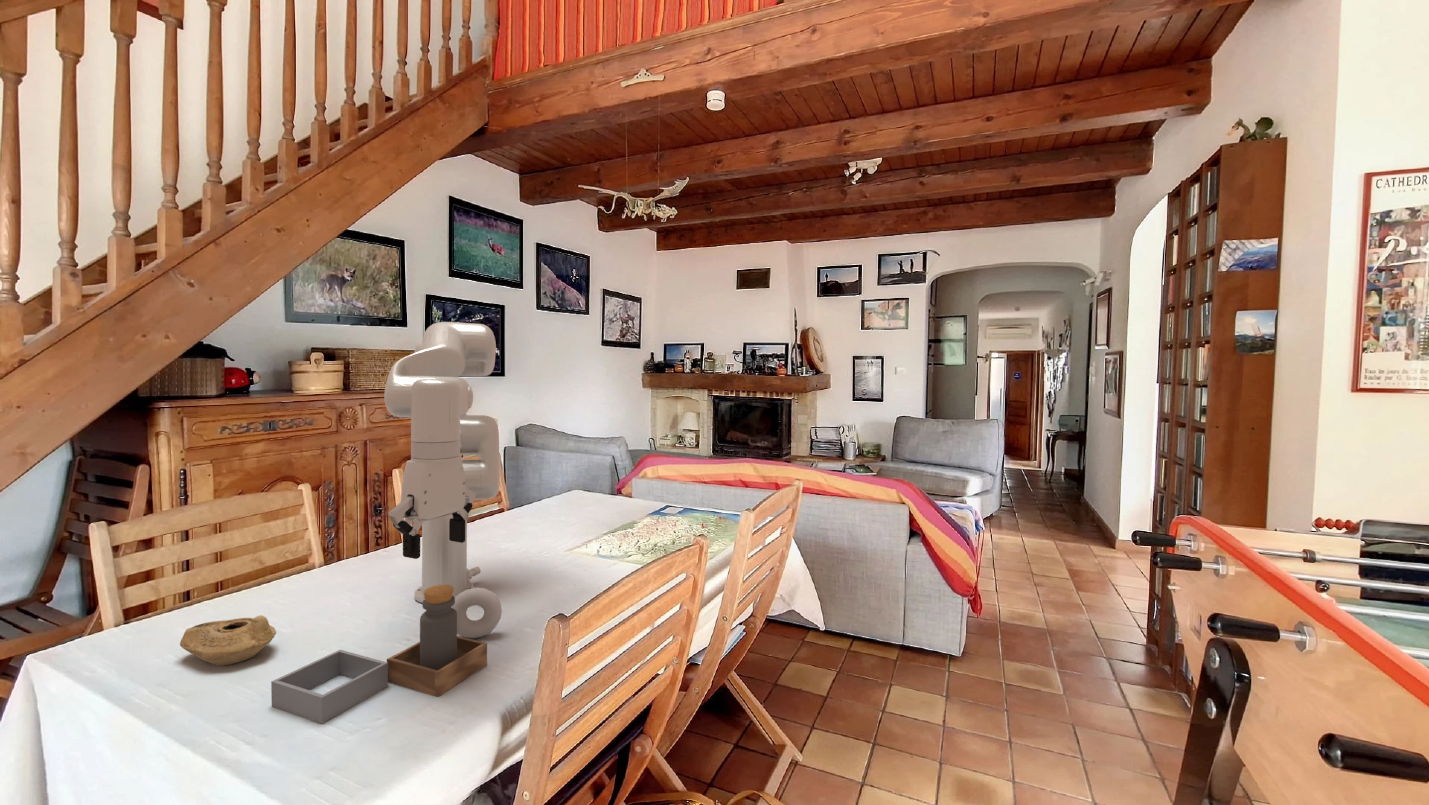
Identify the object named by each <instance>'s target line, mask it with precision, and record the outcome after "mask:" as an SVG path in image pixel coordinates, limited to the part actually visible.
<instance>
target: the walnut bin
mask: <svg viewBox="0 0 1429 805" xmlns="http://www.w3.org/2000/svg"><path fill="white" fill-rule="evenodd" d="M386 662H387V663H388V684H393V685H397V686H399V687H403V688H406V689H410V690H413V691H417V692H420V693H424V694H427V695H431V696H433V697H439V696H441V695H442V693H443V694H444V693H446V692H447V691H448V690H451V689H452V688H454V687H455V686H457V685H458V684H459V683H462V681H465V679H467V678H469V677H470V676H471V675H473V674H475V673H476V672H478V671H480V670H481V669H483V668H484V667H486V666H487V665H488V642H484V641H481V640H475V639H473V638H465V637H463V636H460V635H457V659H456V660H454V661H453V662H451V663H449V664H448V665H446V666H444V667H443V668H441V669H439V670H434V669H431V668H427V667H423V666H420V641H419V642H417V643H415V644H413V645H411V646H410V647H407V648H405V649H403V650H401V651H399V652H398V653H395V654H394V655H392V656H390V657H388V658H387V659H386ZM456 684H457V685H456Z"/></svg>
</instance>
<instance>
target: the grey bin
mask: <svg viewBox="0 0 1429 805" xmlns="http://www.w3.org/2000/svg"><path fill="white" fill-rule="evenodd" d="M339 675H341V676H343V677H348V678H350V680H348V681H347V682H344V683H343V684H341V685H338V686H337V687H335V688H333V689H332V690H330V691H327V692H326V693H324V694H322V693H319V692H316V691H312V689H313V688H315V687H317V686H319V685H321V684H323V683H325V682H327V681H329V680H330V679H333V678H334V677H337V676H339ZM351 678H352V679H351ZM270 684H271V686H270V687H271V707H272V708H275V709H278V710H281V711H284V712H287V713H290V714H292V715H296V716H298V717H301V718H305V719H307V720H310V721H313V722H315V723H319V724H321V725H322V724H324V723H326V722H328V721H329V720H331V719H333V718H335V717H336V716H338V715H340V714H342V713H343V712H346V711H347V710H348V709H350V708H351V707H354V706H355V705H357V704H359V703H360V702H362V701H364V700H366V699H368V698H370V697H371V696H373V695H374V694H376V693H379V692H380V691H382V690H383V689H385V688H387V687H388V686H389V682H388V663H387V661H383V660H381V659H380V660H379V659H377V658H372V657H368V656H365V655H361V654H357V653H354V652H350V651H347V650H343V649H338V650H336V651H334V652H331V653H330V654H327V655H325V656H324V657H321V658H318V659H317V660H315V661H312V662H310V663H308V664H306V665H304V666H302V667H299V668H298V669H295V670H293V671H291V672H289V673H287V674H285V675H282V676H280V677H278V678H276V679H273V680H272V681H271V683H270ZM341 712H342V713H341ZM334 716H335V717H334Z"/></svg>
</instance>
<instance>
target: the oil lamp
mask: <svg viewBox="0 0 1429 805" xmlns="http://www.w3.org/2000/svg"><path fill="white" fill-rule="evenodd" d="M276 635H277V630H276V629H275V627H274V626H272V625H271V624H270V623H269V619H268V618H267V617H266V616H264V615H262V614H261V615H256V616H255V617H239V618H234V619H233V618H232V619H231V618H230V619H224V620H215V621H213V620H212V621H208V622H204V623H200V624H197V625H194V626H192V627H189V628H186V630H185V631H184V633H183V636H182V637H181V639H180V641H179V646H180V648H182V649H183V650H185V651H187V652H189V653H190V654H192V655H194V656H196V657H197V658H198V659H201V660H202V661H205V662H206V663H207V662H208V663H210V664H211V665H216V666H222V667H223V666H229V665H230V666H231V665H233V664H237V663H241V662H244V661H247V660H249V659H251V658H253V657H255V656H256V655H257V654H258V652H260V651H261V650H262V649H263V648H265V647H266V646H267V645H269V644H270V643H271V642H272V640H273V639H274V638H275V636H276Z"/></svg>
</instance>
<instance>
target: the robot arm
mask: <svg viewBox="0 0 1429 805" xmlns="http://www.w3.org/2000/svg"><path fill="white" fill-rule="evenodd" d="M496 345H497V344H496V337H495V335H494V331H493V330H492V329H491V328H490V327H489V326H487V325H485V324H483V323H470V322H469V323H467V322H456V321H455V322H454V321H441V322H435V323H433V324H431V325H429V326H428V327H427V328H426V330H425V332H424V334H423V338H422V341H420V342H418V343H417V344H416V345H415V347H414V352H413V353H411V354H409V355H406V356H404V357H401V358H400V359H399V360H397V361H396V362H394V364H392V366H391V368H390V370H389V373H388V376H387V379H386V383H385V387H384V395H383V397H384V399H383V400H384V404H385V408H386V409H387V410H386V411H387V412H389V414H391V415H392V416H394V417H397V418H410V446H411V447H410V459H409V460H407V461H406V464H405V467H404V472H403V477H402V482H401V483H402V484H401V494H400V502H399V503H398V504H396V505H395V506H394V507H393V508H391V510H390V511H388V517H389V518H390V521H391V522H392V526H393V527H394V528H395V529H396V530H397V531H398V532H399V534H402V556H403V557H404V558H408V559H414V560H418V559H420V557H421V586H420V587H418V588H416V590H415V591H414V600H415V601H416V602H419V603H421V604H422V603H423V601H424V600H425V596H424V590H425V589H427V588H429V587H432V586H436V585H450V586H453V588H454V590H453V594H452V596H454V597H455V598H456V597H457V596H458V595H459V594H460V593H461V592H463V591H465V590H467V589H471V588H475V586H474V583H471V582H470V580H471V579H473V577H476V576H478V575H480V574H481V573H482V572H481V568H480V567H479V566H475V567H473V568H471V569H468V567H467V566H468V564H467V563H468V562H467V561H468V559H467V558H468V552H467V550H468V518H469V516H470V515H469V513H470V512H471V510H472V509H473V506H474V505H473V503H474V501H480V500H481V501H482V500H489V499H493V498H494V497H496V496H497V495H498V493H499V490H500V485H501V484H500V482H501V481H500V480H501V478H500V475H501V474H500V473H501V470H500V466H501V465H500V464H501V463H500V460H501V459H500V432H499V430H500V429H499V426H498V423H497V421H496V419H495V418H493V417H492V416H489V415H484V414H482V415H481V414H479V415H477V414H476V415H475V414H473V415H472V414H469V415H468V414H467V413H468V412H469V410H470V409H471V408H472V406H473V401H474V391H473V388H472V387H471V386H470V384H469V382H468V381H466V379H464V378H462V377H488V376H490V375H491V374H492V373H493V372H494V368H495V365H496V364H495V363H496V353H497V352H496V351H497V346H496ZM465 455H467V456H471V455H472V456H473V455H474V456H477V457H478V459H462V456H465ZM420 529H421V534H418V533H419V530H420Z"/></svg>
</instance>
